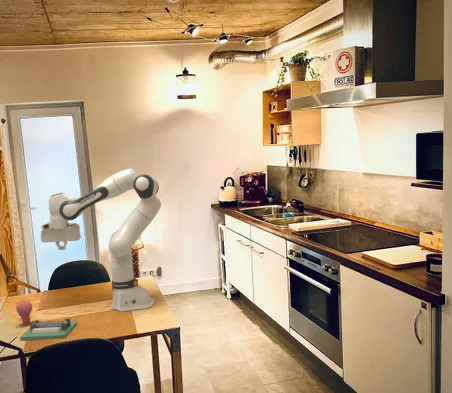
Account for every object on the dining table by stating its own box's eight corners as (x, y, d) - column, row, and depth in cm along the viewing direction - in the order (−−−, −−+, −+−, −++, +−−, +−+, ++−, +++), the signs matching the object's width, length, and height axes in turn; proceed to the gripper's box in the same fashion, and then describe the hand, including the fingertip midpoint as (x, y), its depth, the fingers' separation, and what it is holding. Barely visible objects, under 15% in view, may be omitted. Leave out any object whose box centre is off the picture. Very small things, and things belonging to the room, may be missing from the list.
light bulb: (18, 328, 218) (15, 304, 217) (18, 323, 225) (15, 300, 223) (34, 325, 221) (31, 301, 220) (34, 320, 227) (31, 297, 226)
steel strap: (69, 323, 213) (68, 319, 212) (66, 325, 210) (66, 322, 209) (33, 325, 213) (32, 321, 213) (30, 327, 210) (30, 324, 210)
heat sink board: (77, 324, 219) (76, 314, 219) (64, 338, 203) (63, 327, 203) (35, 326, 220) (34, 316, 219) (20, 340, 204) (19, 329, 203)
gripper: (81, 221, 244) (83, 247, 246) (43, 224, 245) (45, 249, 246) (77, 223, 238) (79, 249, 239) (38, 226, 238) (40, 252, 240)
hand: (62, 249), depth 243 cm, fingers closed
